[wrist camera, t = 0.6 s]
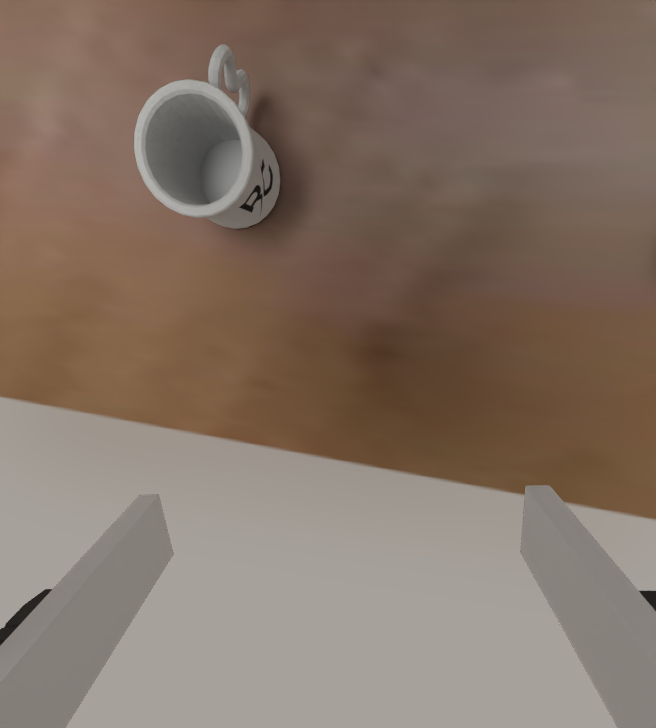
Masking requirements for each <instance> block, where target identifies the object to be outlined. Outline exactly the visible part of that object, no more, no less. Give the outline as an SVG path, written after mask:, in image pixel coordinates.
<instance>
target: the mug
mask: <svg viewBox="0 0 656 728" xmlns="http://www.w3.org/2000/svg"><path fill="white" fill-rule="evenodd" d="M223 65H224V76H225V85H226V87H227V89H228V90H229V91H230V92H237V91H239V104H238V106H237V105H236V103H235V102H234V101H233V100H232V99H231V98H230V97H228V96H227V95H226V94H225V93H224V92H223V91H222V86H221V72H222V68H223ZM208 79H209V83H207V82H203V81H197V80H191V79H187V80H181V81H174V82H171V83H169V84H167V85H165V86H164V87H162V88H160V89H158V90H157V91H156V92H155V93H154V94H153V95H152V96H151V97H150V98H149V99H148V100H147V102H146V103H145V105H144V107H143V109H142V111H141V112H140V114H139V117H138V121H137V125H136V128H135V132H134V151H135V156H136V161H137V166H138V169H139V171H140V173H141V176H142V178H143V180H144V182H145V184H146V186H147V187H148V188H149V190H150V191H151V192H152V194H153V195H154V196H155V197H156V198H157V199H158V200H159V201H160V202H162V203H163V204H164V205H165V206H166V207H168V208H169V209H171V210H173V211H176V212H178V213H180V214H182V215H185V216H191V217H197V218H207V219H208V220H210V221H212V222H214V223H216V224H218V225H220V226H223V227H227V228H233V229H238V228H247V227H249V226H252V225H254V224H257V223H259V222H260V221H261V220H262V219H264V218H265V217H266V216H267V215H268V214H269V212H270V211H271V210H272V208H273V207H274V205H275V203H276V200H277V197H278V195H279V188H280V173H279V165H278V163H277V160H276V157H275V154H274V152H273V151H272V149H271V148H270V146H269V145H268V143H267V142H266V140H264V139H263V138H262V137H261V136H260V135H259V134H258V133H257V132H255V131H254V130H253V129H252V128H250V127H249V124H248V122H247V120H246V118H245V117H246V115H247V111H248V107H249V98H250V85H249V78H248V75H247V74H246V73H245V72H244V71H243V70H242V69H240V70H237V71H236V65H235V58H234V54H233V52H232V50H231V49H230V48H229V47H228V46H227V45H226V44H224V45H220V46H218V47H217V48H216V49H215V51H214V53H213V55H212V57H211V61H210V65H209V70H208ZM233 178H234V179H233Z"/></svg>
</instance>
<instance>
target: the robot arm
mask: <svg viewBox="0 0 656 728" xmlns="http://www.w3.org/2000/svg"><path fill="white" fill-rule="evenodd" d="M520 552H521V554H522V556H523V558H524V560H525V561H526V563H527V565H528V567H529V569H530V570H531V572H532V574H533V576H534V577H535V579H536V581H537V583H538V585H539V587H540V588H541V590H542V592H543V594H544V596H545V597H546V599H547V601H548V603H549V605H550V606H551V608H552V610H553V612H554V614H555V616H556V617H557V619H558V621H559V623H560V624H561V626H562V628H563V630H564V632H565V634H566V635H567V637H568V639H569V640H570V643H571V645H572V646H573V648H574V650H575V652H576V653H577V655H578V657H579V659H580V661H581V663H582V664H583V666H584V668H585V670H586V672H587V673H588V675H589V677H590V679H591V680H592V682H593V684H594V686H595V688H596V690H597V691H598V693H599V695H600V697H601V699H602V701H603V702H604V704H605V706H606V708H607V710H608V711H609V713H610V715H611V717H612V718H613V720H614V722H615V724H616V726H617V728H656V591H638V590H637V589H636V587H635V586H634V585H633V584H632V583H631V581H630V580H629V579H628V578H627V577H626V576H625V574H624V573H623V572H622V571H621V570H620V568H619V567H618V566H617V565H616V564H615V562H614V561H613V560H612V559H611V558H610V557H609V556H608V554H607V553H606V552H605V551H604V549H603V548H602V547H601V546H600V545H599V544H598V542H597V541H596V540H595V539H594V538H593V536H592V535H591V534H590V533H589V532H588V530H587V529H586V528H585V527H584V526H583V525H582V523H581V522H580V521H579V520H578V519H577V518H576V516H575V515H574V514H573V513H572V512H571V510H570V509H569V508H568V507H567V506H566V504H565V503H564V502H563V501H562V500H561V498H560V497H559V496H558V495H557V494H556V493H555V491H554V490H553V489H552V488H551V487H550V485H540V486H525V501H524V513H523V525H522V537H521V550H520ZM172 556H173V550H172V546H171V542H170V537H169V534H168V529H167V526H166V521H165V517H164V513H163V509H162V505H161V501H160V497H159V494H155V495H154V494H151V495H139V496H138V497H137V498H136V499H135V500H134V501H133V502H132V504H131V505H130V506H129V507H128V508H127V509H126V510H125V511H124V512H123V513H122V514H121V515H120V517H119V518H118V519H117V520H116V521H115V522H114V523H113V524H112V525H111V526H110V528H109V529H108V530H107V531H106V532H105V533H104V534H103V535H102V536H101V537H100V538H99V540H98V541H97V542H96V543H95V544H94V545H93V546H92V547H91V548H90V549H89V550H88V551H87V553H86V554H85V555H84V556H83V557H82V558H81V559H80V560H79V561H78V562H77V563H76V564H75V565H74V566H73V568H72V569H71V570H70V571H69V572H68V573H67V574H66V575H65V576H64V577H63V578H62V580H61V581H60V582H59V583H58V584H57V585H56V586H55V587H54V588H53V589H46V590H44V591H43V592H41V593H40V594H38V595H37V596H36V597H34V598H33V599H32V600H30V601H29V602H28V603H26V604H25V605H24V606H23V607H22V608H21V609H20V610H19V611H18V612H17V613H16V614H15V615H14V616H13V617H12V618H11V619H10V620H9V621H8V622H7V623H6V626H5V627H4V628H2V629H0V728H66V726H67V724H68V723H69V721H70V720H71V718H72V716H73V715H74V713H75V712H76V710H77V709H78V707H79V705H80V704H81V702H82V701H83V699H84V697H85V696H86V694H87V692H88V691H89V689H90V688H91V686H92V684H93V683H94V681H95V680H96V678H97V676H98V675H99V673H100V671H101V670H102V668H103V667H104V665H105V664H106V662H107V660H108V659H109V657H110V655H111V654H112V652H113V651H114V649H115V647H116V646H117V644H118V643H119V641H120V639H121V638H122V636H123V635H124V633H125V631H126V630H127V628H128V626H129V625H130V623H131V622H132V620H133V619H134V617H135V615H136V614H137V612H138V611H139V609H140V607H141V606H142V604H143V602H144V601H145V599H146V598H147V596H148V594H149V593H150V591H151V590H152V588H153V586H154V585H155V583H156V581H157V580H158V578H159V577H160V575H161V573H162V572H163V570H164V569H165V567H166V566H167V564H168V562H169V561H170V559H171V557H172Z"/></svg>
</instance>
